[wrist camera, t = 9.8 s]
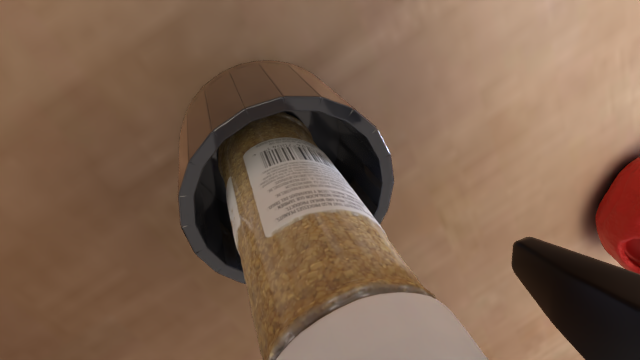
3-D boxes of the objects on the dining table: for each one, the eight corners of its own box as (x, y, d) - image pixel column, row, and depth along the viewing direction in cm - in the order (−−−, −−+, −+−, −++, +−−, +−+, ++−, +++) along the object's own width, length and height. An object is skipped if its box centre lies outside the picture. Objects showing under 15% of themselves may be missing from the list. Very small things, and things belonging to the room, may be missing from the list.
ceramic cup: (215, 233, 20) (225, 314, 15) (149, 90, 16) (136, 141, 11) (354, 184, 21) (402, 245, 17) (327, 38, 17) (380, 65, 12)
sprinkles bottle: (202, 181, 18) (237, 552, 7) (239, 90, 16) (362, 366, 5) (291, 205, 20) (432, 519, 9) (330, 126, 18) (561, 379, 7)
